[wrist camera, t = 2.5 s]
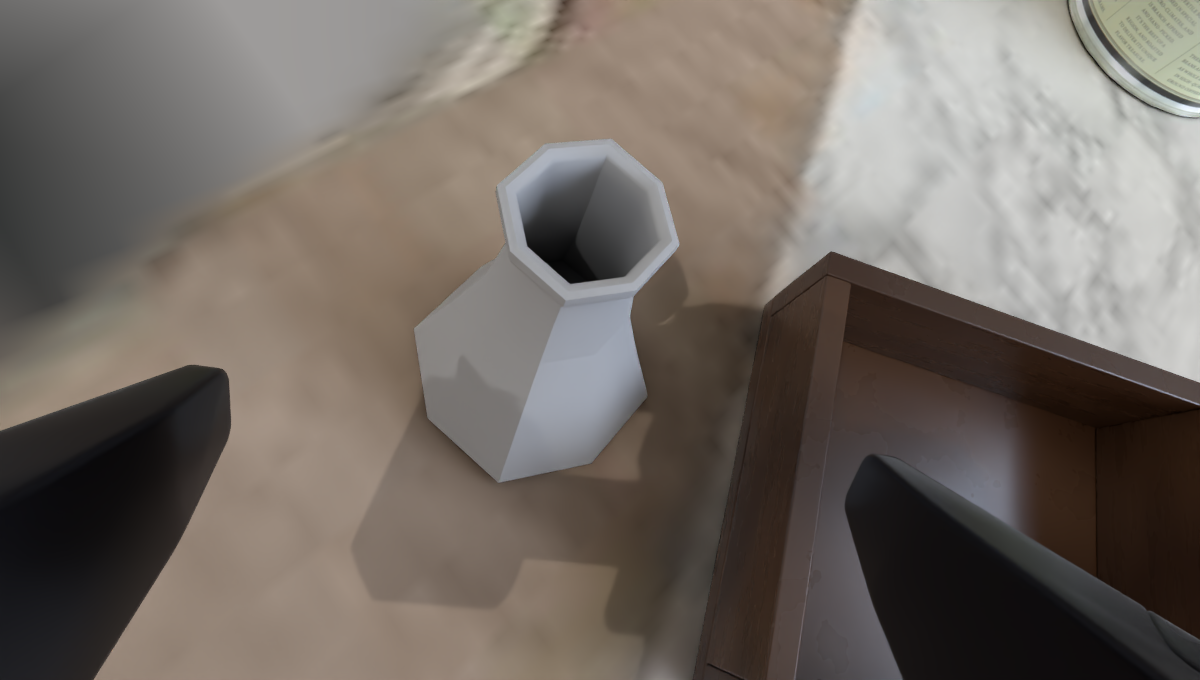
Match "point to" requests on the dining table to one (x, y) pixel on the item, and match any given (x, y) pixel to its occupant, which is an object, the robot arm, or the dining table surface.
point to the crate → (937, 463)
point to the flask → (550, 314)
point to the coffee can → (1146, 48)
